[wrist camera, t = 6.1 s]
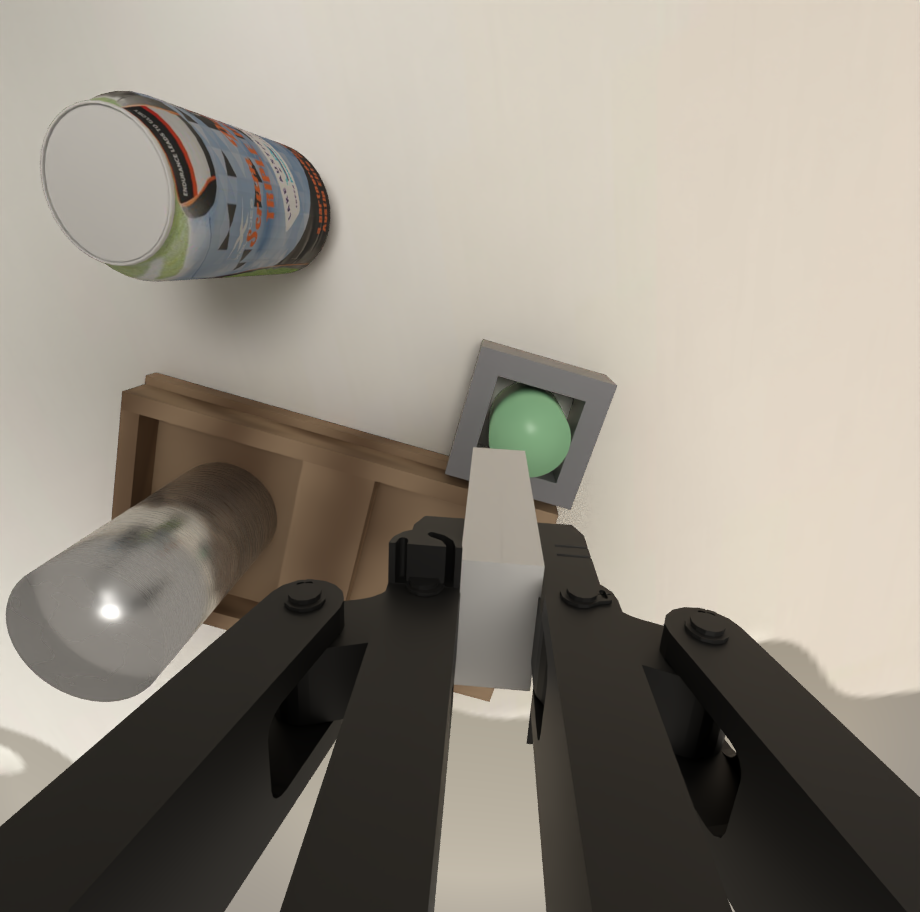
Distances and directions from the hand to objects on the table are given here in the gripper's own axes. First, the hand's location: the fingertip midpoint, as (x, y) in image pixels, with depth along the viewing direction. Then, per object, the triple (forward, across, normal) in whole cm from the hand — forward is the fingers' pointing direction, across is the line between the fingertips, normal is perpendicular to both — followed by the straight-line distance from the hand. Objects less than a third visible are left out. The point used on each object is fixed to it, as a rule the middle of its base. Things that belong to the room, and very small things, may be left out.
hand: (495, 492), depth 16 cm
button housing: (+16, +2, -2) cm, 16 cm away
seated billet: (+15, -16, -9) cm, 23 cm away
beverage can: (+16, -12, +8) cm, 22 cm away
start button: (+17, +2, -2) cm, 17 cm away
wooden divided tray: (+16, -9, -10) cm, 21 cm away
